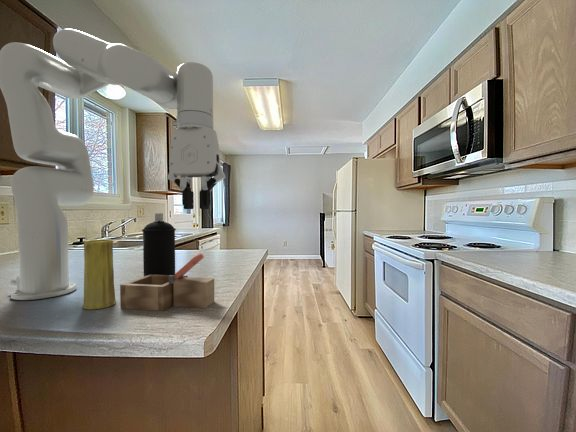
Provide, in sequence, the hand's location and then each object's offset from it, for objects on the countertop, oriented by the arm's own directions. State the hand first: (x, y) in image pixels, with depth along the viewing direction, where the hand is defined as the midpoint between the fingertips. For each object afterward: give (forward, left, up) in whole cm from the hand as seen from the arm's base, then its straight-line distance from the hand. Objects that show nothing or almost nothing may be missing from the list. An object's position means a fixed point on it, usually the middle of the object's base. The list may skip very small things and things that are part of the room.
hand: (196, 208), depth 64 cm
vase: (-21, -4, -21) cm, 30 cm away
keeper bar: (-2, 0, -13) cm, 13 cm away
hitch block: (-6, 0, -21) cm, 22 cm away
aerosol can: (-16, +11, -21) cm, 29 cm away
